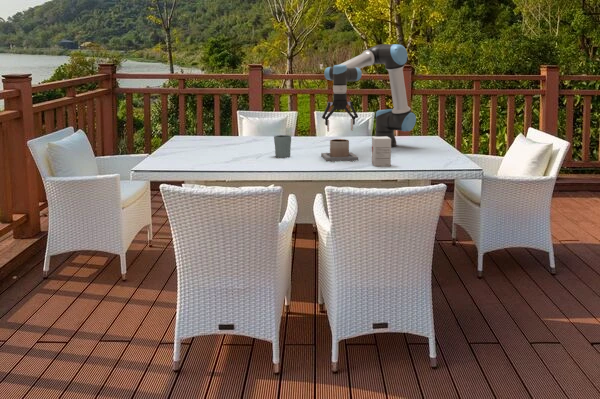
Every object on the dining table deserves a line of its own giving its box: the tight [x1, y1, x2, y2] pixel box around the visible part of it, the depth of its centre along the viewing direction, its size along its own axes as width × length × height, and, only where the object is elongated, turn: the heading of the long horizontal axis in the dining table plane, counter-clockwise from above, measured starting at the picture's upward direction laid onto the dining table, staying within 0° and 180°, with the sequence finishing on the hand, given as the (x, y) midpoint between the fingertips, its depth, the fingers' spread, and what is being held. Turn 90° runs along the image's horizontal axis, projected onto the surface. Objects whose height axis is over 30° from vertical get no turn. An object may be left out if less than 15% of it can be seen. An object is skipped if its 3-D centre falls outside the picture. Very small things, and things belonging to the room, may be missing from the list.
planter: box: [329, 138, 350, 157], centre depth 408 cm, size 11×11×10 cm
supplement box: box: [371, 136, 392, 167], centre depth 386 cm, size 9×9×15 cm
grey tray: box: [320, 151, 359, 163], centre depth 408 cm, size 18×21×2 cm
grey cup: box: [273, 134, 292, 159], centre depth 416 cm, size 10×10×12 cm
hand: (340, 131), depth 406 cm, fingers open, 13 cm apart
